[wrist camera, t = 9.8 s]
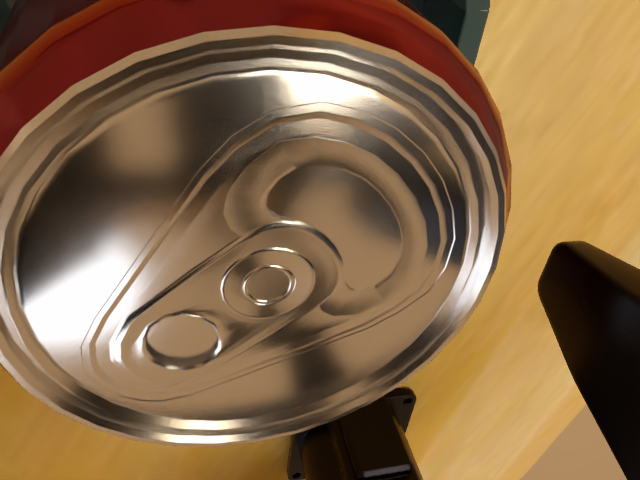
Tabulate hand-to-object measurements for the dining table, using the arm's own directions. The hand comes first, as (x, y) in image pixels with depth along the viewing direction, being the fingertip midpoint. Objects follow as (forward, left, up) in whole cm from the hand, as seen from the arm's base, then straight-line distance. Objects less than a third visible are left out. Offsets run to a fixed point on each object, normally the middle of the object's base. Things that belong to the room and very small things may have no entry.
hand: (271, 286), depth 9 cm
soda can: (+1, 0, -12) cm, 12 cm away
